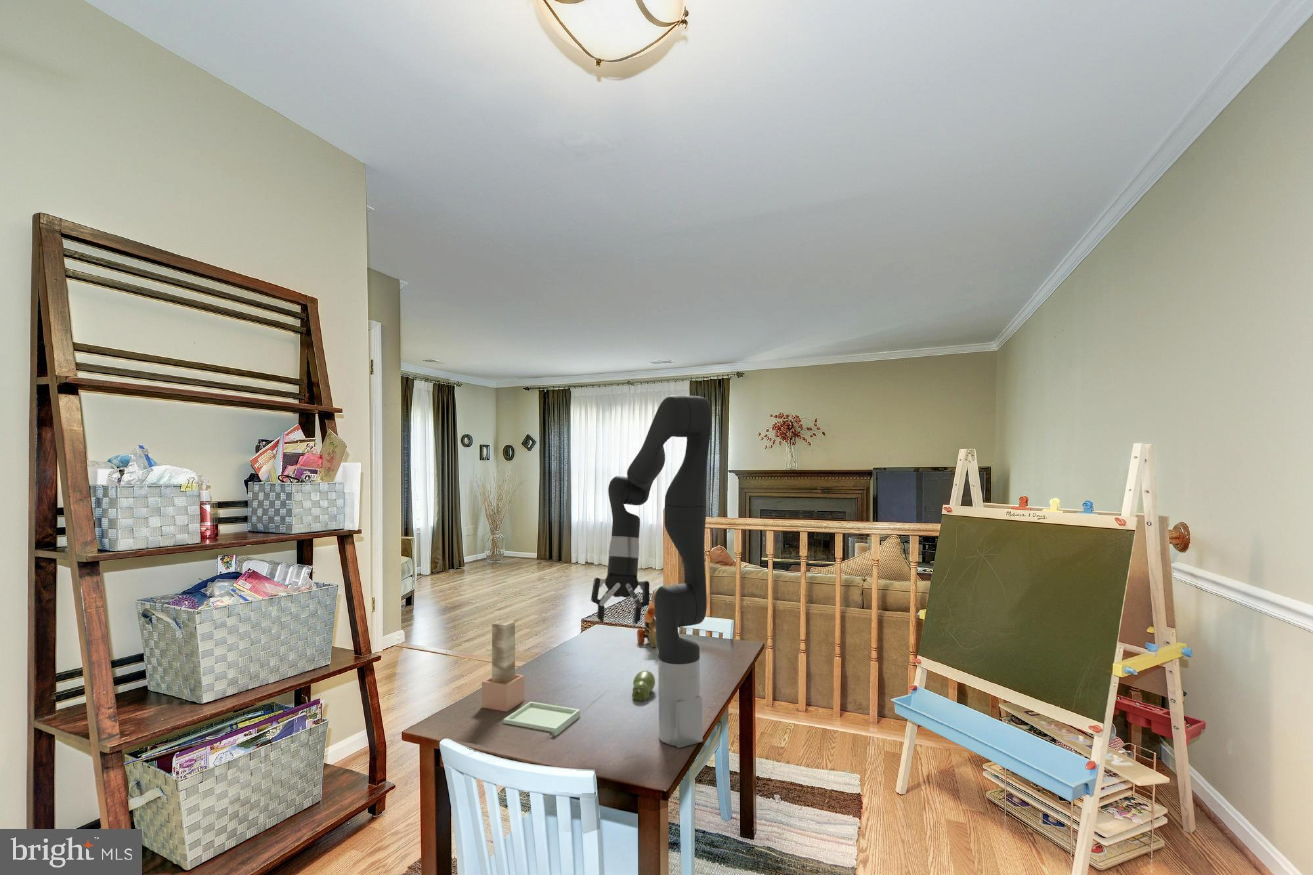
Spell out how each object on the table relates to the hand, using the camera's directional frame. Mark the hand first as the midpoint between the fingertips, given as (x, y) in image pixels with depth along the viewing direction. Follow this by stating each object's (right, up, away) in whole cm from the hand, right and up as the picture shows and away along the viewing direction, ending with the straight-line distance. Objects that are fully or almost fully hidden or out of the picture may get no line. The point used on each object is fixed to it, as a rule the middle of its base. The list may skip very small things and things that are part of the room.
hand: (618, 622), depth 146 cm
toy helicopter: (+8, -24, +49) cm, 55 cm away
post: (-29, -21, +3) cm, 36 cm away
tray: (-17, -21, -6) cm, 28 cm away
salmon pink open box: (-29, -22, +2) cm, 36 cm away
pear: (+6, -22, +9) cm, 25 cm away
